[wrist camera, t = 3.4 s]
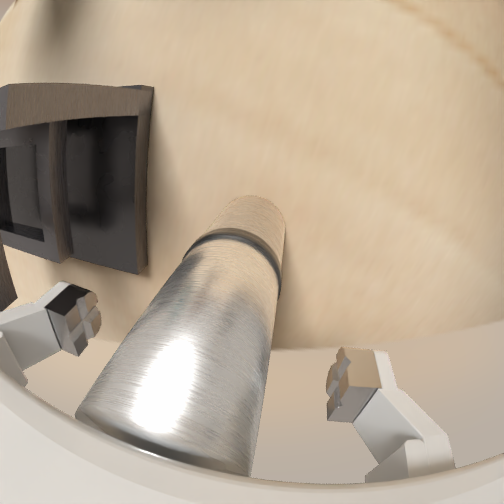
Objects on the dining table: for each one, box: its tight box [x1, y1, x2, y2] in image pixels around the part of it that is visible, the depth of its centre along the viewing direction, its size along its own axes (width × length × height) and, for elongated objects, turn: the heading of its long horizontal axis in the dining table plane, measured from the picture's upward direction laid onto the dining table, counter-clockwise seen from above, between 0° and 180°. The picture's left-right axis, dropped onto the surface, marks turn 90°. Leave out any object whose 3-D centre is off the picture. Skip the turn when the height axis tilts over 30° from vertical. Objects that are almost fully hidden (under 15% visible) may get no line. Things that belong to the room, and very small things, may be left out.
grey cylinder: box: [75, 196, 285, 477], centre depth 11 cm, size 4×4×14 cm
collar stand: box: [0, 83, 154, 312], centre depth 13 cm, size 16×12×10 cm
